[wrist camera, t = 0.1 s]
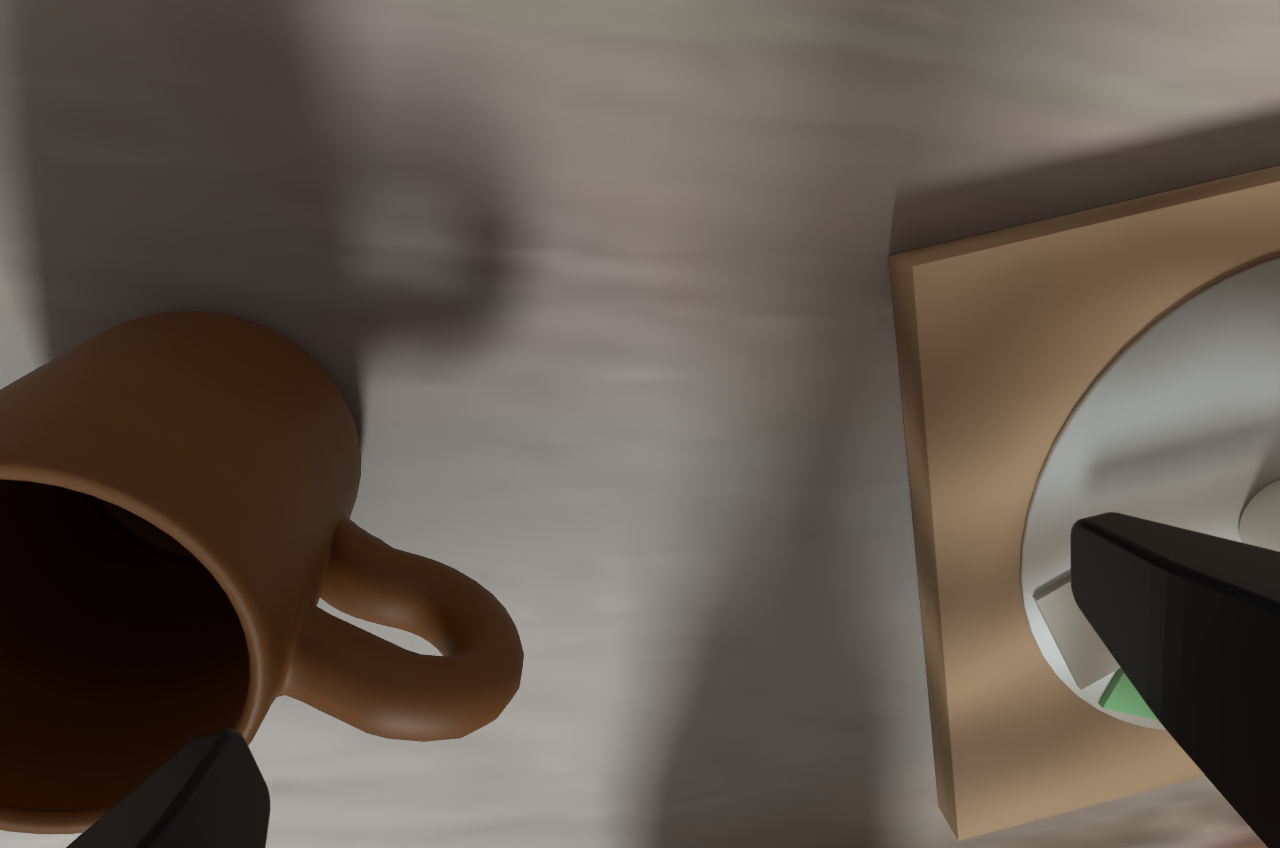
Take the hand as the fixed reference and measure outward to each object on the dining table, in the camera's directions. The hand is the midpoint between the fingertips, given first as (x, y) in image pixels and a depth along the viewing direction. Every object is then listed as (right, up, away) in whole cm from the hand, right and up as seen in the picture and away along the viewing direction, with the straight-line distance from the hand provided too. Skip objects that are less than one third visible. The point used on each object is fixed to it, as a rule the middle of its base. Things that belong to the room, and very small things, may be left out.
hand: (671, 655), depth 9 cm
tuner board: (+18, 0, +18) cm, 26 cm away
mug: (-9, +1, +14) cm, 17 cm away
